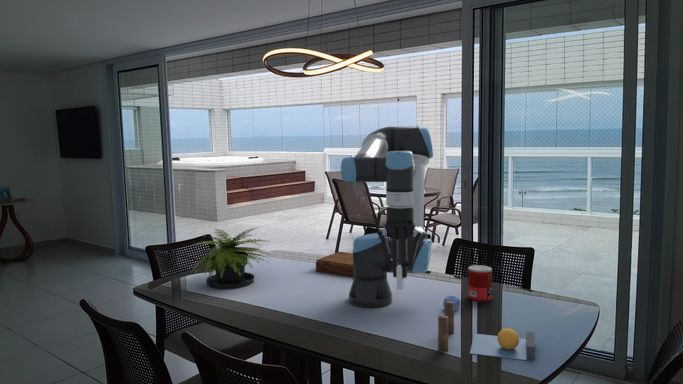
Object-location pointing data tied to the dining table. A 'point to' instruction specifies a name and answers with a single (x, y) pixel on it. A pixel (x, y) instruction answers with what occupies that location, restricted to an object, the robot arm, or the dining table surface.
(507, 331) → the ball
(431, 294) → the dining table surface
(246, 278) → the fern plant
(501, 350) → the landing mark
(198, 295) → the dining table surface
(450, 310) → the post
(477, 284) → the canned food
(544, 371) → the dining table surface
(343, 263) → the brown wooden block
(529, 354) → the stopper wall
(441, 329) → the post
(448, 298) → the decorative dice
